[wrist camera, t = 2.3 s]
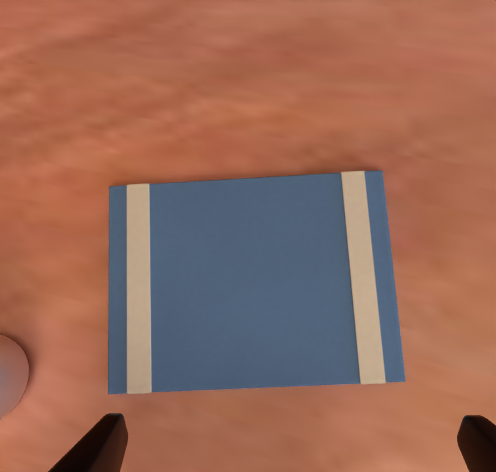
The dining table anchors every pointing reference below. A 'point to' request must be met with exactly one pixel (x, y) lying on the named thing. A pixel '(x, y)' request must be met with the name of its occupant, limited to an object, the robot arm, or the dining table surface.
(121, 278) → the towel
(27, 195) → the dining table surface
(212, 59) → the dining table surface
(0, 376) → the plastic bottle
